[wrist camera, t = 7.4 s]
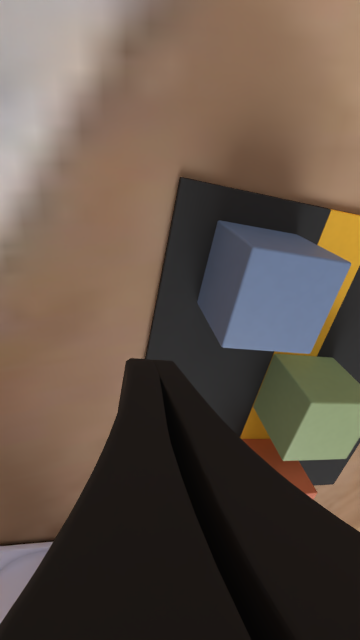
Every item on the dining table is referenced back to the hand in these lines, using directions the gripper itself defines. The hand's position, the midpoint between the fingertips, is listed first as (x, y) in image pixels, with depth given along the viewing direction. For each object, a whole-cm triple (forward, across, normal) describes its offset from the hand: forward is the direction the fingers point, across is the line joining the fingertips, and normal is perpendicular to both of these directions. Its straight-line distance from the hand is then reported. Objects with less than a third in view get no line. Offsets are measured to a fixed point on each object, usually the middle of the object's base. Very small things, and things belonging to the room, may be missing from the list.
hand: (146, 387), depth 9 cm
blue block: (+7, -6, -2) cm, 9 cm away
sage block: (+7, -11, +5) cm, 14 cm away
